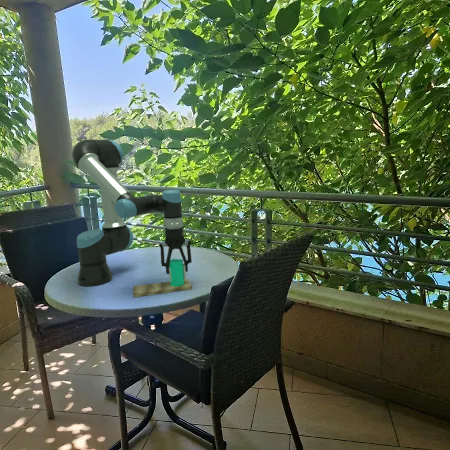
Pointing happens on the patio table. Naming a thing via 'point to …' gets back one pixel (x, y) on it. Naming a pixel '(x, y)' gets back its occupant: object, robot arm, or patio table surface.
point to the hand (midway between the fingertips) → (177, 279)
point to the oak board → (159, 288)
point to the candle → (176, 272)
